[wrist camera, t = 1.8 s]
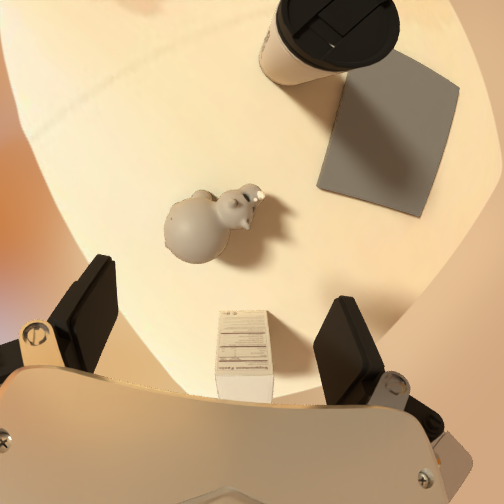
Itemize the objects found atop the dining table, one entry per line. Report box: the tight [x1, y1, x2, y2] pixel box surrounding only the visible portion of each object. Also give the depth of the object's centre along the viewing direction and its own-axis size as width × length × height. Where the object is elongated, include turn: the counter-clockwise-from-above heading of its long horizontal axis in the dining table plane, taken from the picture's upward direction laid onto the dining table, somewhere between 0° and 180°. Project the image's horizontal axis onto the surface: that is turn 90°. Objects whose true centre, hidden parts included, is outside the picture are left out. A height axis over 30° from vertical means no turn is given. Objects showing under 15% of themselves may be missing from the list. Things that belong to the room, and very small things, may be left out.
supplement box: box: [215, 310, 274, 404], centre depth 40 cm, size 7×7×13 cm
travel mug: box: [259, 0, 400, 86], centre depth 18 cm, size 6×7×20 cm
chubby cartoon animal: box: [164, 184, 266, 264], centre depth 31 cm, size 7×12×8 cm, turn 116°
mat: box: [316, 49, 459, 217], centre depth 30 cm, size 20×16×1 cm
